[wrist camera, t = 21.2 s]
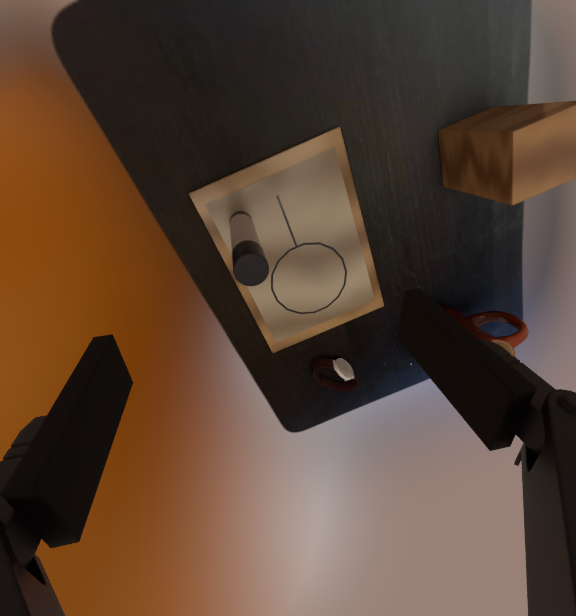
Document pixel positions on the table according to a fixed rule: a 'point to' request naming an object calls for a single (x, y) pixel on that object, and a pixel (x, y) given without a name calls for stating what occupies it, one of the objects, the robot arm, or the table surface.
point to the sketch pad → (298, 239)
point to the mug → (481, 318)
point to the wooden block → (510, 151)
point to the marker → (247, 251)
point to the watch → (343, 371)
